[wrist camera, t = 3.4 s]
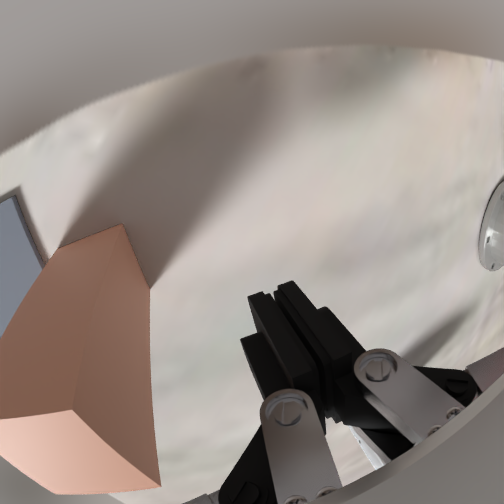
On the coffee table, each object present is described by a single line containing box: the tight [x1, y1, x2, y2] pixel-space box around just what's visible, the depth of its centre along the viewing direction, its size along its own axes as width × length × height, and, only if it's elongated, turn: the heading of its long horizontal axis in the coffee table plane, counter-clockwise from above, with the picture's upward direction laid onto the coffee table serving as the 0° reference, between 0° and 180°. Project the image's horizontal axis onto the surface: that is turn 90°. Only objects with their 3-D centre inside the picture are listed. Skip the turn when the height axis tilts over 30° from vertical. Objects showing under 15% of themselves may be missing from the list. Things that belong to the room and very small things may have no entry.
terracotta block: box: [0, 223, 161, 494], centre depth 12 cm, size 5×5×14 cm
